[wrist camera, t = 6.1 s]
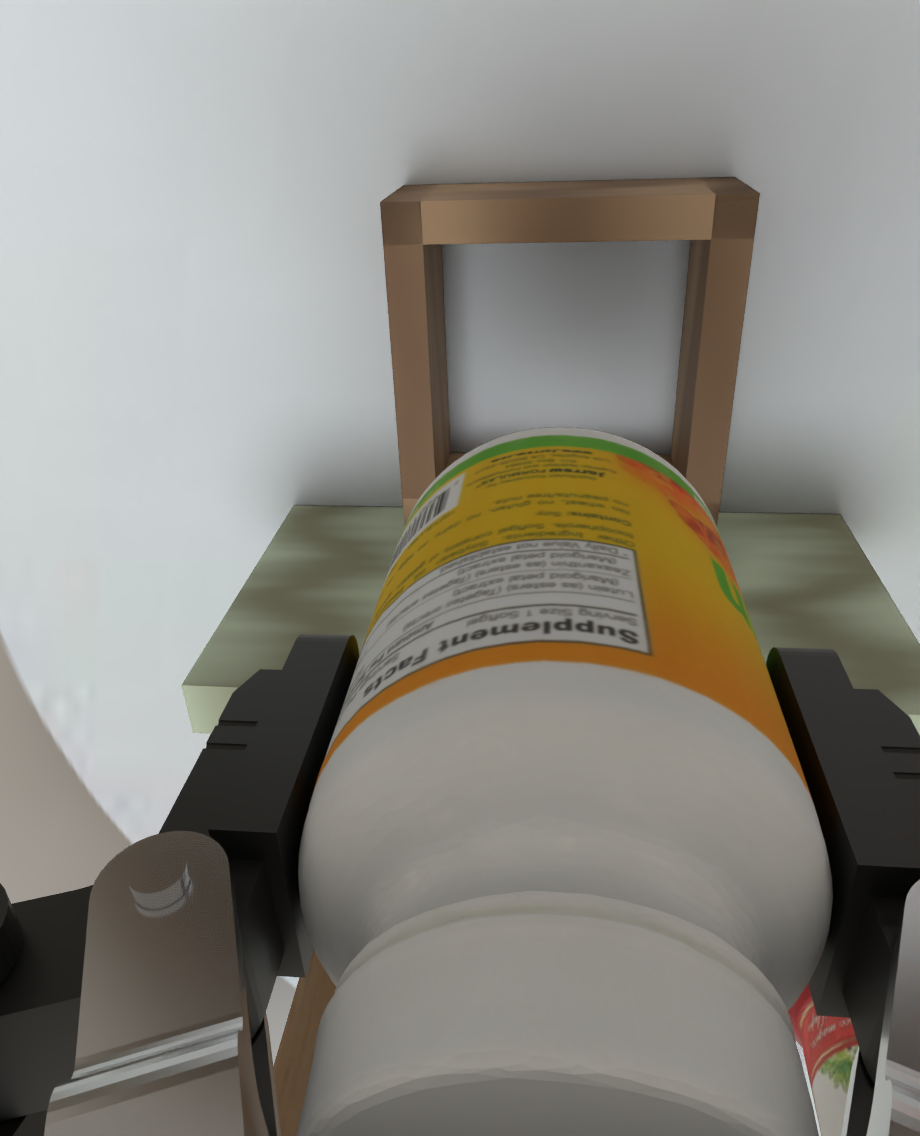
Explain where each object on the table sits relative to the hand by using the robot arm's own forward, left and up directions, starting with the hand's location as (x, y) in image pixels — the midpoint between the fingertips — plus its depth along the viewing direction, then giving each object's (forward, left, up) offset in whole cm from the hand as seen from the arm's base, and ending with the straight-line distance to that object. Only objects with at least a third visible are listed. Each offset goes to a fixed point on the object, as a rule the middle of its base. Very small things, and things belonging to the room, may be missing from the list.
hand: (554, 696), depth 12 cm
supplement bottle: (0, 0, -4) cm, 4 cm away
